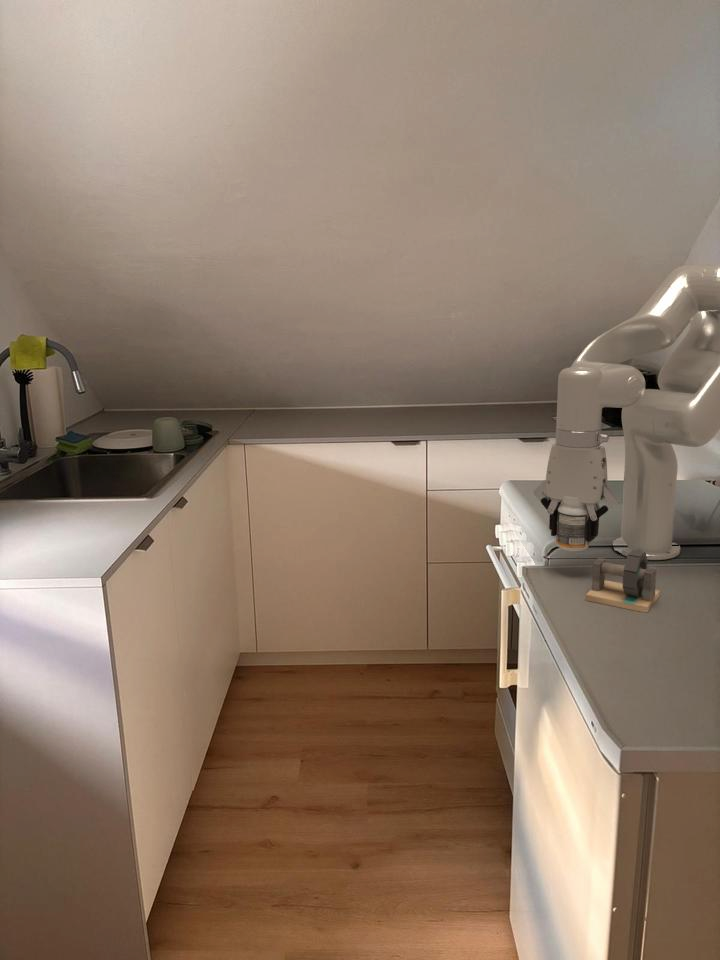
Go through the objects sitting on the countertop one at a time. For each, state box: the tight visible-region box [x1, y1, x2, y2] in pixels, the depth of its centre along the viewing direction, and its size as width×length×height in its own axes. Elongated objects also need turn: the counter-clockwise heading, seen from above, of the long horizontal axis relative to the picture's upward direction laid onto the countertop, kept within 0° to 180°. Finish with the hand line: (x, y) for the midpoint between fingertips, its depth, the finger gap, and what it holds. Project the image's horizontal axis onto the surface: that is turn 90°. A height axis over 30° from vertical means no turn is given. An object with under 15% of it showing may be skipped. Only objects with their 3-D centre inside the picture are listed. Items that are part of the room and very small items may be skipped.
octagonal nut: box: [622, 550, 649, 597], centre depth 127 cm, size 7×2×7 cm, turn 146°
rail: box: [584, 557, 661, 614], centre depth 129 cm, size 8×10×6 cm
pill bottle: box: [555, 496, 590, 552], centre depth 138 cm, size 6×6×10 cm
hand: (573, 536), depth 139 cm, fingers closed on pill bottle, 5 cm apart
